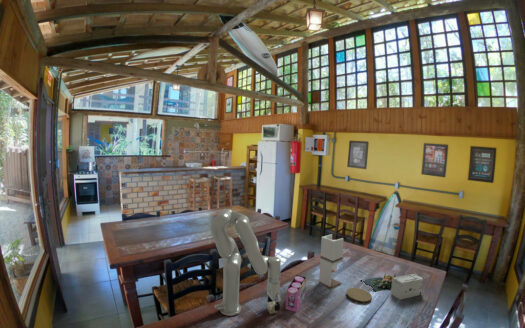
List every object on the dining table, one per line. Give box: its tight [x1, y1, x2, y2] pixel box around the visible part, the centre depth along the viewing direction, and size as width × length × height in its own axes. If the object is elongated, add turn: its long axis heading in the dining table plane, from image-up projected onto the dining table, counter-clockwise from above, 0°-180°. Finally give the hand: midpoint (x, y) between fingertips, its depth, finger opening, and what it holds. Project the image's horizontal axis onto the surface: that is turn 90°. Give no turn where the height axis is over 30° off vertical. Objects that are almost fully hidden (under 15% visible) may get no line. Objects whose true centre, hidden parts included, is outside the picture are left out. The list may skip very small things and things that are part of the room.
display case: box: [318, 233, 344, 290], centre depth 195 cm, size 11×11×35 cm
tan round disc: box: [345, 287, 373, 305], centre depth 180 cm, size 16×16×3 cm
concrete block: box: [390, 271, 424, 300], centre depth 184 cm, size 21×8×20 cm, turn 111°
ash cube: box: [266, 301, 278, 315], centre depth 162 cm, size 4×4×4 cm
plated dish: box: [363, 271, 396, 293], centre depth 200 cm, size 35×28×7 cm
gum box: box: [284, 274, 307, 313], centre depth 172 cm, size 22×7×13 cm, turn 157°
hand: (273, 306), depth 162 cm, fingers open, 9 cm apart
